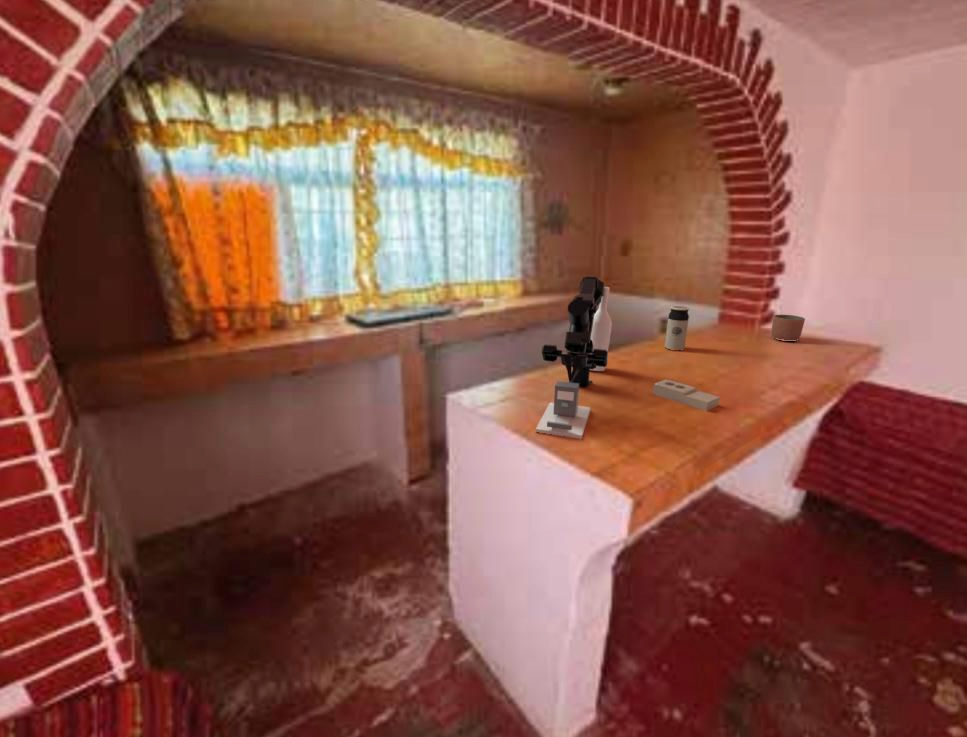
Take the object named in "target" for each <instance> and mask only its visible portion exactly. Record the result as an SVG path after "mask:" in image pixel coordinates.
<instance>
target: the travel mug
mask: <svg viewBox="0 0 967 737" xmlns="http://www.w3.org/2000/svg"><path fill="white" fill-rule="evenodd" d="M689 310H690V307H688V306H684V305H683V306H682V305H671V306H670V312H669V313H668V318H667V325H666V332H665V342H664V348H665V347H666V348H669V349H675V350H681V349H684V350H685V348H686V340H687V332H688V325H689V319H690V315H689V313H688V312H689ZM666 348H665V349H666ZM681 351H682V350H681Z"/></svg>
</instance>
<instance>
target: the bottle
mask: <svg viewBox="0 0 967 737" xmlns="http://www.w3.org/2000/svg"><path fill="white" fill-rule="evenodd" d="M610 290H611V288H610V287H608V286H605V290H604V296H602V299H601V303H600V304H599V305H598V308H597V312H596V314H595V315H594V321H593V327H592V333H591V340H592V343H593V351H594V349H603V350H607V352H608V353H609V348H610V339H611V333H612V328H613V323H612V322H613V321H612V319H611V317H610V316H611V315H610V314H609V312H608V302H609V296H610V295H609V294H610ZM605 370H606V367H601V366H596V368H594V369H590V371H595V372H603V371H605Z"/></svg>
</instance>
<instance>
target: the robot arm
mask: <svg viewBox="0 0 967 737" xmlns="http://www.w3.org/2000/svg"><path fill="white" fill-rule="evenodd" d="M599 278H600V277H597V276H591V275H587V276H586V275H585V276H583V277H582V279H581V280H580V281H579V288H578V294H577V295H574V297H573V299H572V301H570V302H569V303H568V305H567V315H568V321H569V329H568V330H569V331H566V333H565V339H564V349H563V348H562V349H558V348H557V344H547V343H546V344H544V345H543V346H542V347H541V355H542V359H543V361H544V362H553V363H554V362H556V361H557V360H558V357H559V358H560V361H561V365H563V366H565V369H566V372H567V376H568V382H570V383H579V388H580V387H581V388H587V387H588V386H590V385H591V384H593V381H592V380H590V371H591V370H590V369H594V368H596V366H601V367H605V368H606V367H607V366H608V361H609V360H608V359H609V357H608V356H609V355H608V354H609V351H608V352H607V350H603V349H594V351H593V343H592V340H591V333H592V327H593V321H594V315H595V314H596V312H597V311H598V307H599V305H600V303H601V299H602V296H604V290H605V287H606V286H605V282H604V281H602V280H601V279H599Z"/></svg>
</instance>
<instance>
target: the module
mask: <svg viewBox="0 0 967 737" xmlns="http://www.w3.org/2000/svg"><path fill="white" fill-rule="evenodd" d="M579 390H580V386H579V383H570V382H569V381H568V382H567V381H562V380H561V381H559V380H558V381H556V384H554V398H553V399H554V401H553V403H554V414H553V415H561V416H568V417H576V414H577V408H578V406H579V393H580V391H579Z"/></svg>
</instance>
